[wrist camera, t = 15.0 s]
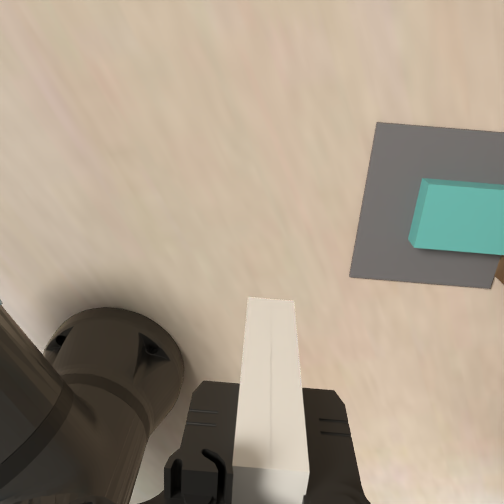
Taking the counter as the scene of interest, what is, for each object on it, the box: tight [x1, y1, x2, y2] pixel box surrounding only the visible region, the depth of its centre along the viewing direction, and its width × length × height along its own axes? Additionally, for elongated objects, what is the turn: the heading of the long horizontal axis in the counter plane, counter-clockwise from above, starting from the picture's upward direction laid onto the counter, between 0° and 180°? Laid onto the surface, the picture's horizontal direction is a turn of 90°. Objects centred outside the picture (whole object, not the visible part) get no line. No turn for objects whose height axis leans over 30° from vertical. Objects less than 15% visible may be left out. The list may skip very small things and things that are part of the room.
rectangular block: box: [408, 178, 504, 255], centre depth 41 cm, size 6×9×2 cm, turn 86°
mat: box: [349, 122, 504, 289], centre depth 43 cm, size 15×14×1 cm
